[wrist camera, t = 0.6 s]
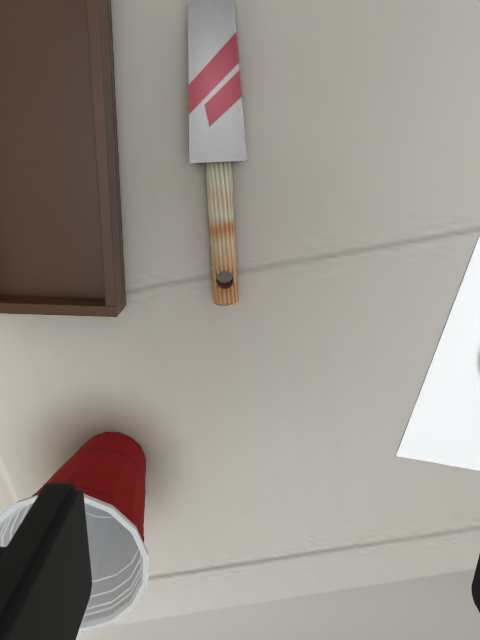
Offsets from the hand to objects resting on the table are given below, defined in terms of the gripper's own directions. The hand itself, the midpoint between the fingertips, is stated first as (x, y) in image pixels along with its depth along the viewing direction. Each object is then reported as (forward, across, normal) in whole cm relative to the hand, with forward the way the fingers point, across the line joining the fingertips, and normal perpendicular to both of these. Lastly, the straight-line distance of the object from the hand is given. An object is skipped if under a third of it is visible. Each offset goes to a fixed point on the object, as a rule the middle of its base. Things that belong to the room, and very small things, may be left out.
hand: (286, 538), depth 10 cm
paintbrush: (+26, +3, -8) cm, 27 cm away
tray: (+26, +15, -10) cm, 31 cm away
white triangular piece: (+26, -25, +8) cm, 37 cm away
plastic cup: (+26, +12, +17) cm, 33 cm away
